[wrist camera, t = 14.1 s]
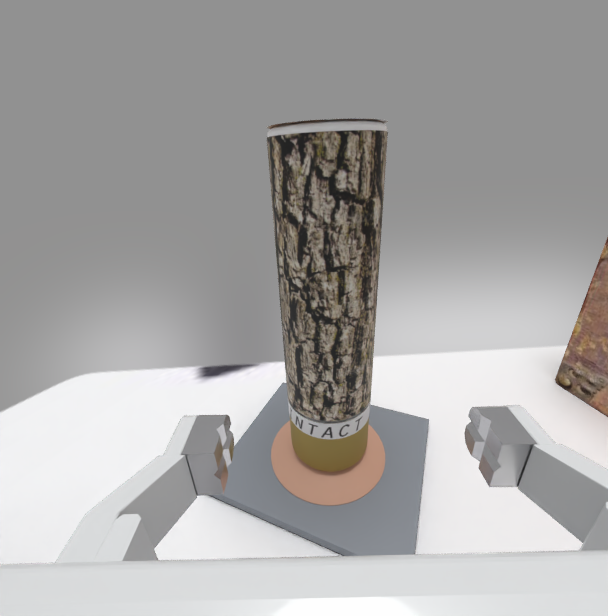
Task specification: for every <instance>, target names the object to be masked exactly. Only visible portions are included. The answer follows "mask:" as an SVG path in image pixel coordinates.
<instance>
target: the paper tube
mask: <svg viewBox="0 0 608 616" xmlns="http://www.w3.org/2000/svg"><path fill="white" fill-rule="evenodd" d="M387 122H388V121H386V120H381V119H364V118H363V119H361V118H353V119H352V118H351V119H325V120H310V121H298V122H289V123H282V124H276V125H271V126H268V127H267V129H270V130H269V131H268V135H267V146H268V158H269V170H270V182H271V195H272V208H273V220H274V232H275V245H276V257H277V268H278V282H279V294H280V307H281V319H282V330H283V343H284V356H285V369H286V381H287V393H288V406H289V415H290V427H291V439H292V445H293V448H294V451H295V453H296V454H297V456H298V457H299V458H300V459H301V460H302V461H303V462H304V463H306V464H307V465H309V466H310V467H312V468H314V469H317V470H321V471H327V472H335V471H341V470H344V469H347V468H349V467H351V466H352V465H354V464H355V463H357V462H358V461H359V460H360V459H361V457H362V456H363V454H364V453H365V450H366V447H367V440H368V424H369V413H370V398H371V382H372V367H373V351H374V336H375V335H374V334H375V319H376V305H377V289H378V272H379V258H380V242H381V227H382V210H383V195H384V180H385V164H386V148H387V134H388V132H387V128H386V125H385V124H384V123H387Z"/></svg>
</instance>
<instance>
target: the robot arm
mask: <svg viewBox="0 0 608 616" xmlns="http://www.w3.org/2000/svg"><path fill="white" fill-rule="evenodd" d="M469 418H470V419H471V422H470V423H469V424H468V425H467V426H466V429H465V441H466V445H467V448H468V450H469V452H470V454H471V455H472V456H473V457H474V458H476V459H477V460H478V461H480V464H479V470H480V471H481V473H482V475H483V476H484V478H485V480H486V482H487V483H488V485H489V487H518V489H519V490H520V491H521V492H522V493H524V494H525V495H526V496H527V497H528V498H530V499H531V500H532V501H533V502H534V503H536V504H537V505H538V506H539V507H540V508H542V509H543V510H544V511H545V512H546V513H548V514H549V515H550V516H551V517H552V518H554V519H555V520H556V521H557V522H558V523H560V524H561V525H562V526H563V527H564V528H566V529H567V530H568V531H569V532H570V533H572V534H573V535H574V536H575V537H576V538H578V539H579V540H580V541H581V542H582V543H583V544H582V546H581V548H580V550H579V551H538V552H496V553H454V554H413V555H370V556H326V557H282V558H239V559H195V560H158V558H157V556H156V553H155V551H154V548H155V547H156V546H157V545H158V543H159V542H160V541H161V540H162V539H163V537H164V536H165V535H166V534H167V533H168V531H169V530H170V529H171V528H172V527H173V525H174V524H175V523H176V522H177V521H178V519H179V518H180V517H181V516H182V515H183V514H184V512H185V511H186V510H187V509H188V508H189V506H190V505H191V504H192V503H193V502H194V500H195V499H196V498H197V496H201V495H218V494H224V491H225V487H226V483H227V479H228V470H227V467H228V466H229V465H230V464H231V462H232V458H233V451H234V438H233V433H232V432H231V431H229V428H230V425H231V422H230V418H229V416H228V415H199V416H183V417H182V418H181V419H180V421H179V424H178V426H177V428H176V430H175V432H174V434H173V436H172V438H171V440H170V442H169V444H168V446H167V448H166V450H165V453H164V455H163V456H158V457H156V458H155V459H154V460H153V461H151V462H150V463H149V464H148V465H146V466H145V467H144V468H143V469H141V470H140V471H139V472H137V473H136V474H135V475H134V476H132V477H131V478H130V479H129V480H127V481H126V482H125V483H124V484H122V485H121V486H120V487H119V488H117V489H116V490H115V491H113V492H112V493H111V494H110V495H108V496H107V497H106V498H105V499H103V500H102V501H101V502H100V503H98V504H97V505H96V506H95V507H93V508H92V509H91V510H90V511H88V512H87V513H86V514H85V515H84V517H83V518H82V520H81V522H80V523H79V525H78V526H77V528H76V530H75V531H74V533H73V534H72V536H71V538H70V539H69V541H68V543H67V544H66V546H65V547H64V549H63V551H62V552H61V554H60V555H59V557H58V559H57V560H56V562H55V563H19V564H0V616H608V469H606V468H605V467H603V466H601V465H599V464H597V463H595V462H594V461H592V460H590V459H588V458H586V457H584V456H583V455H581V454H579V453H577V452H575V451H573V450H571V449H570V448H568V447H566V446H564V445H562V444H556V443H555V442H554V441H553V440H552V439H551V438H550V436H549V435H548V434H547V433H546V432H545V431H544V430H543V429H542V428H541V426H540V425H539V424H538V423H537V422H536V421H535V420H534V419H533V417H532V416H531V415H530V414H529V413H528V412H527V411H526V410H525V409H524V408H523V407H522V406H520V405H508V406H487V407H472V408H471V410H470V412H469Z"/></svg>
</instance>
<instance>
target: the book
mask: <svg viewBox="0 0 608 616" xmlns="http://www.w3.org/2000/svg"><path fill="white" fill-rule="evenodd" d="M555 380H556V383H557V384H558V385H559V386H561V387H562V388H564V389H565V390H567V391H568V392H570V393H572V394H573V395H575V396H576V397H578V398H579V399H581V400H582V401H584V402H586V403H587V404H589V405H590V406H592V407H593V408H595V409H596V410H598V411H600V412H601V413H603V414H604V415H606V416H607V417H608V237H607V240H606V243H605V246H604V249H603V251H602V254H601V257H600V259H599V262H598V265H597V268H596V270H595V273H594V276H593V278H592V281H591V284H590V286H589V289H588V292H587V295H586V297H585V300H584V303H583V305H582V308H581V311H580V314H579V316H578V319H577V322H576V324H575V327H574V330H573V332H572V335H571V338H570V341H569V343H568V346H567V349H566V351H565V354H564V357H563V360H562V362H561V365H560V368H559V370H558V373H557V376H556V379H555Z"/></svg>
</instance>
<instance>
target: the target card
mask: <svg viewBox="0 0 608 616" xmlns="http://www.w3.org/2000/svg"><path fill="white" fill-rule="evenodd" d="M428 424H429V419H425V418H421V417H417V416H413V415H409V414H405V413H401V412H397V411H393V410H389V409H385V408H381V407H377V406H374V405H370V413H369V424H368V440H367V447H366V450H365V453H364V454H363V456H362V457H361V459H360V460H359V461H358V462H357V463H355V464H354V465H352V466H351V467H349V468H347V469H344V470H341V471H335V472H327V471H321V470H317V469H314V468H312V467H310V466H309V465H307V464H306V463H304V462H303V461H302V460H301V459H300V458H299V457H298V456H297V454H296V453H295V451H294V448H293V445H292V439H291V427H290V415H289V406H288V393H287V383H282V385H281V386H280V387H279V389H278V390H277V391H276V392H275V394H274V395H273V396H272V398H271V399H270V400H269V402H268V403H267V404H266V406H265V407H264V408H263V410H262V411H261V412H260V414H259V415H258V416H257V418H256V419H255V420H254V421H253V423H252V424H251V425H250V427H249V428H248V429H247V431H246V432H245V433H244V435H243V436H242V437H241V439H240V440H239V441H238V443H237V444H236V445H235V447H234V451H233V458H232V462H231V464H230V465H229V466H228V467H227V470H228V479H227V483H226V487H225V491H224V494H218V495H210V496H212V497H214V498H216V499H219V500H221V501H223V502H225V503H228V504H230V505H232V506H234V507H236V508H239V509H241V510H243V511H245V512H248V513H250V514H252V515H254V516H257V517H259V518H261V519H263V520H265V521H268V522H270V523H272V524H274V525H277V526H279V527H281V528H283V529H286V530H288V531H290V532H292V533H294V534H297V535H299V536H301V537H303V538H306V539H308V540H310V541H312V542H314V543H317V544H319V545H321V546H323V547H326V548H328V549H330V550H332V551H335V552H337V553H339V554H341V555H343V556H370V555H413V554H415V548H416V538H417V529H418V519H419V510H420V500H421V491H422V481H423V472H424V462H425V453H426V443H427V434H428Z"/></svg>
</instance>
